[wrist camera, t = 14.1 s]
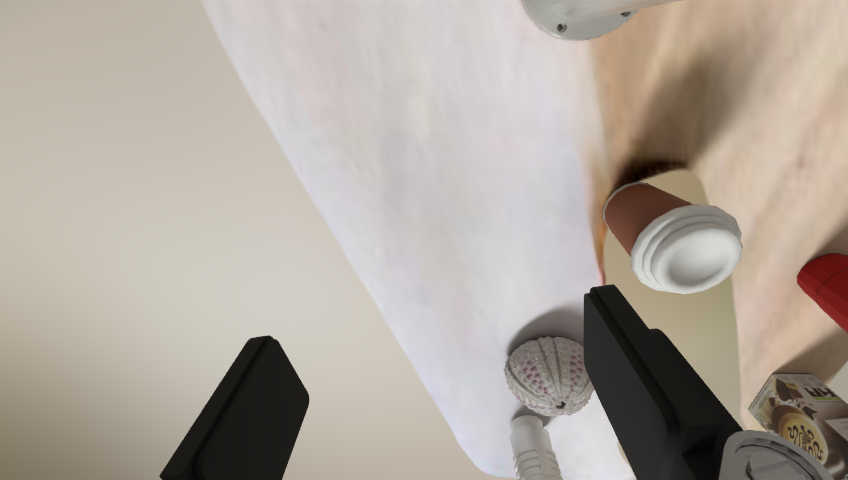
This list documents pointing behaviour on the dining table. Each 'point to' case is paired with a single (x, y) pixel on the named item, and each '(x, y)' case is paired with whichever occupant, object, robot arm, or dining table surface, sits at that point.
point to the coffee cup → (673, 238)
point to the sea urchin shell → (549, 376)
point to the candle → (533, 450)
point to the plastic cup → (828, 285)
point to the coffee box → (806, 418)
